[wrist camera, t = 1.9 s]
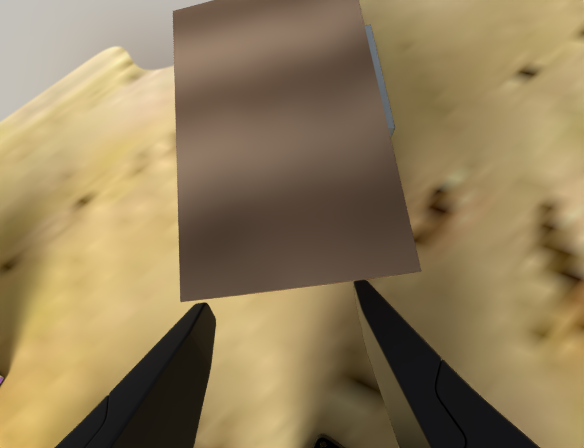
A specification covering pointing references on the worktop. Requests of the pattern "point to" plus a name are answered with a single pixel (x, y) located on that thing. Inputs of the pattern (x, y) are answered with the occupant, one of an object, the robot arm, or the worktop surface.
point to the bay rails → (380, 80)
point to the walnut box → (282, 150)
